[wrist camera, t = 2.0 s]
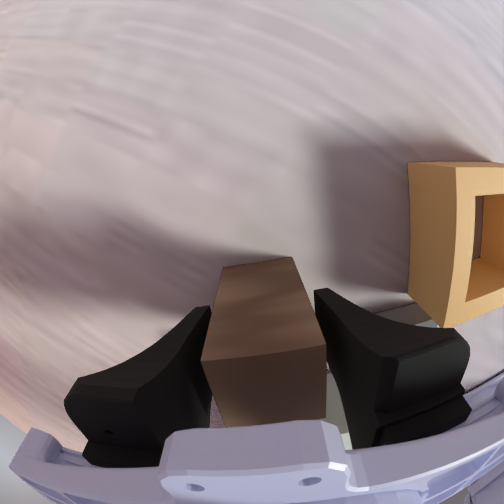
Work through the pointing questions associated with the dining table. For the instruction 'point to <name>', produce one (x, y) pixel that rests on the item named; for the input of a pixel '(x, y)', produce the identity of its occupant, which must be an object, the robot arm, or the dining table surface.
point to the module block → (336, 411)
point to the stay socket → (455, 239)
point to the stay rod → (265, 347)
